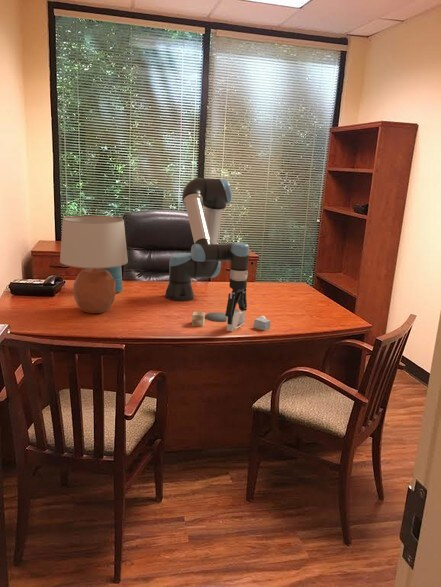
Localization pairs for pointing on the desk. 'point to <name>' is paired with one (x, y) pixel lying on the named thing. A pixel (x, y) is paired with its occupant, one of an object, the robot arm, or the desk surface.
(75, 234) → the lamp
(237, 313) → the cup
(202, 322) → the birch block
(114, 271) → the vase
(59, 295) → the desk surface
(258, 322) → the greyblue block
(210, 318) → the coaster
